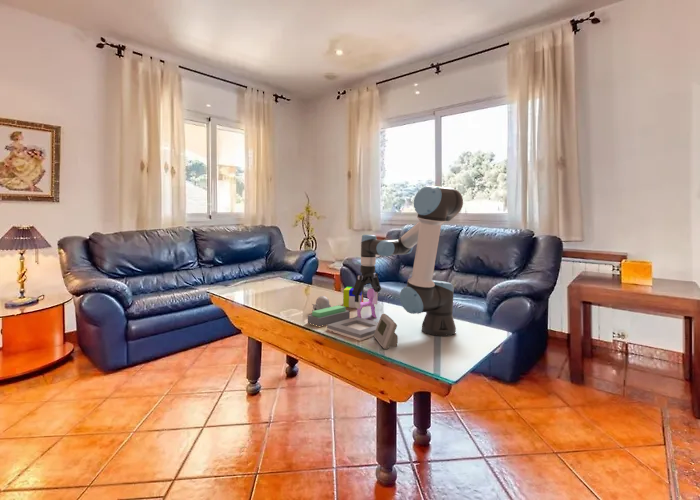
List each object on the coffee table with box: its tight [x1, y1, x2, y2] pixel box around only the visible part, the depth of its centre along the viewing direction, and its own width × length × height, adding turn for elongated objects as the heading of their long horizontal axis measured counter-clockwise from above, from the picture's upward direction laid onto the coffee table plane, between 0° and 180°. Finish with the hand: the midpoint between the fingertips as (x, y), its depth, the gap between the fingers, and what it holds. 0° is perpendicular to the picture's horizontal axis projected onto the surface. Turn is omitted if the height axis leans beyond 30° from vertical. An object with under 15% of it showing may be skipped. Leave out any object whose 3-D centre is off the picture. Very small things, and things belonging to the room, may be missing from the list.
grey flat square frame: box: [326, 316, 379, 342], centre depth 169 cm, size 20×20×2 cm
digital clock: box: [373, 313, 399, 350], centre depth 152 cm, size 16×9×11 cm, turn 179°
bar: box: [311, 305, 347, 318], centre depth 183 cm, size 5×18×3 cm, turn 137°
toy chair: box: [356, 287, 378, 319], centre depth 191 cm, size 8×9×15 cm
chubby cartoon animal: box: [311, 295, 332, 312], centre depth 199 cm, size 7×12×8 cm, turn 140°
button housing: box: [307, 309, 351, 327], centre depth 183 cm, size 8×21×4 cm, turn 137°
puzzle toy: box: [342, 286, 365, 309], centre depth 216 cm, size 10×10×10 cm
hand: (366, 306), depth 191 cm, fingers open, 13 cm apart
